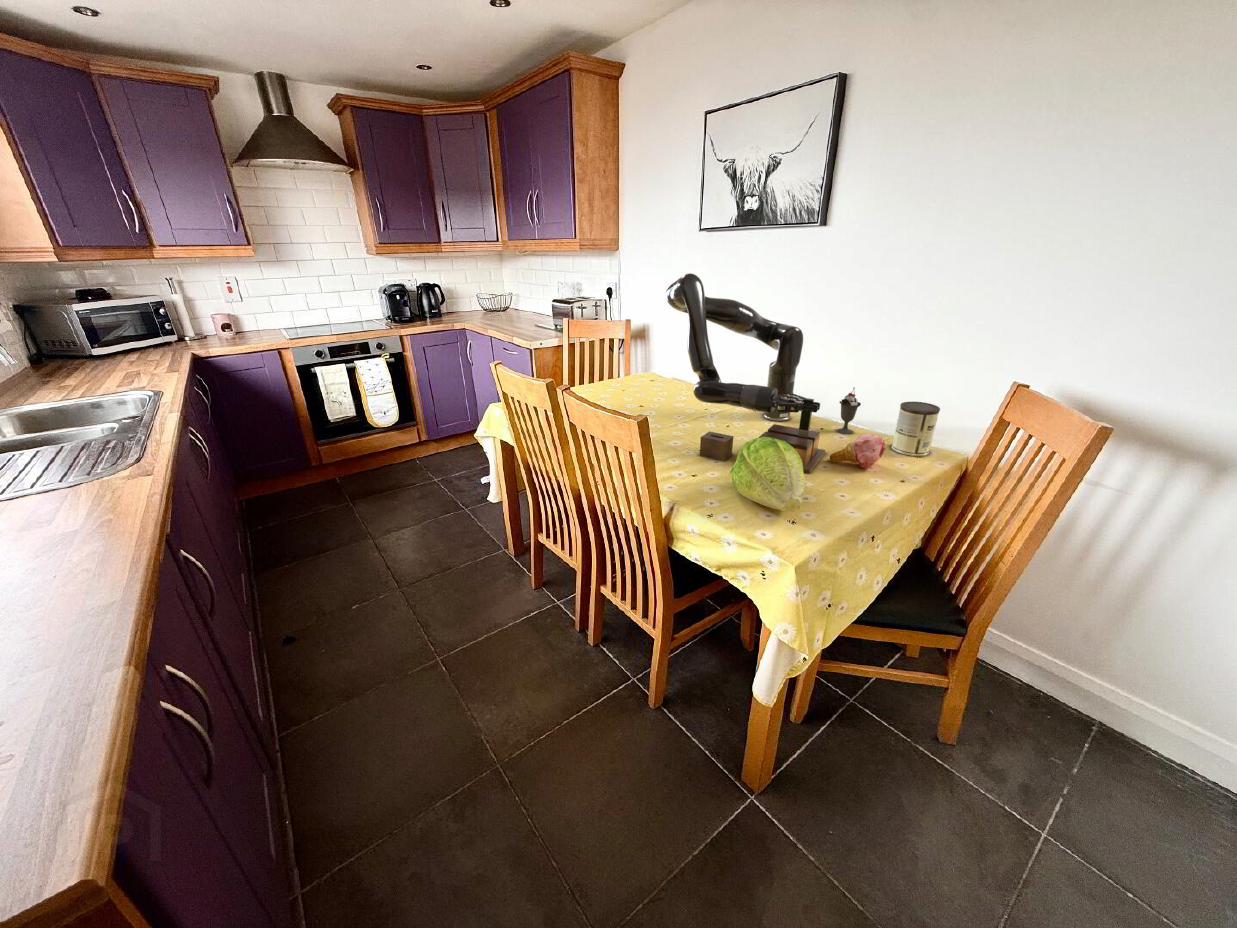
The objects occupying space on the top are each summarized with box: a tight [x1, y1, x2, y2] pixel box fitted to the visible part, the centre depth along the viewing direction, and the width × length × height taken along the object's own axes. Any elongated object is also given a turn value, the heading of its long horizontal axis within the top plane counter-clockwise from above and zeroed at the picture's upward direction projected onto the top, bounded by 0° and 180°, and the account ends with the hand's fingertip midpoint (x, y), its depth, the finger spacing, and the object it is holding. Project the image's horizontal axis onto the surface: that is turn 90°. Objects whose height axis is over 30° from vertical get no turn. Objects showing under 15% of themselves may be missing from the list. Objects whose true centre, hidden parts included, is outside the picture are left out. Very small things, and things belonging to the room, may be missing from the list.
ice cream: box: [829, 433, 886, 469], centre depth 143 cm, size 11×10×15 cm
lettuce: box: [729, 437, 807, 513], centre depth 122 cm, size 17×24×14 cm
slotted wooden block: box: [758, 423, 826, 474], centre depth 149 cm, size 18×18×7 cm
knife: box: [798, 397, 815, 439], centre depth 144 cm, size 3×2×17 cm, turn 56°
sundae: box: [836, 386, 862, 435], centre depth 167 cm, size 7×7×15 cm
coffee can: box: [891, 401, 941, 457], centre depth 151 cm, size 10×10×14 cm
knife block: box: [699, 431, 734, 462], centre depth 151 cm, size 8×6×6 cm
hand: (818, 407), depth 140 cm, fingers closed on knife, 1 cm apart
